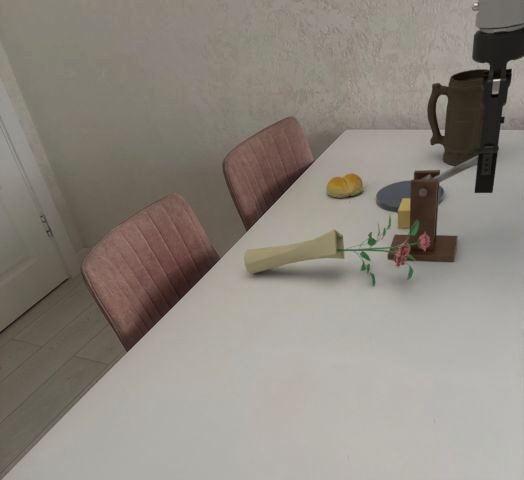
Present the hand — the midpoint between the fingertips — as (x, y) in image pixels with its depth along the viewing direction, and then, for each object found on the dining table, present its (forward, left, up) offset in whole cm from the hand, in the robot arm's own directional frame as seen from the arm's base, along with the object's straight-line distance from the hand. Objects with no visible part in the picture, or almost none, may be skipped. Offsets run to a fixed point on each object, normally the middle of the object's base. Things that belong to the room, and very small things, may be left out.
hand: (485, 177), depth 85 cm
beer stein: (+8, -48, -14) cm, 51 cm away
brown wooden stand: (+10, 0, -14) cm, 17 cm away
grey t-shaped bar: (+5, 0, 0) cm, 5 cm away
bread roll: (+32, -28, -14) cm, 45 cm away
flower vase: (+25, +11, -14) cm, 31 cm away
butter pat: (+14, -12, -14) cm, 23 cm away
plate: (+16, -24, -14) cm, 32 cm away
